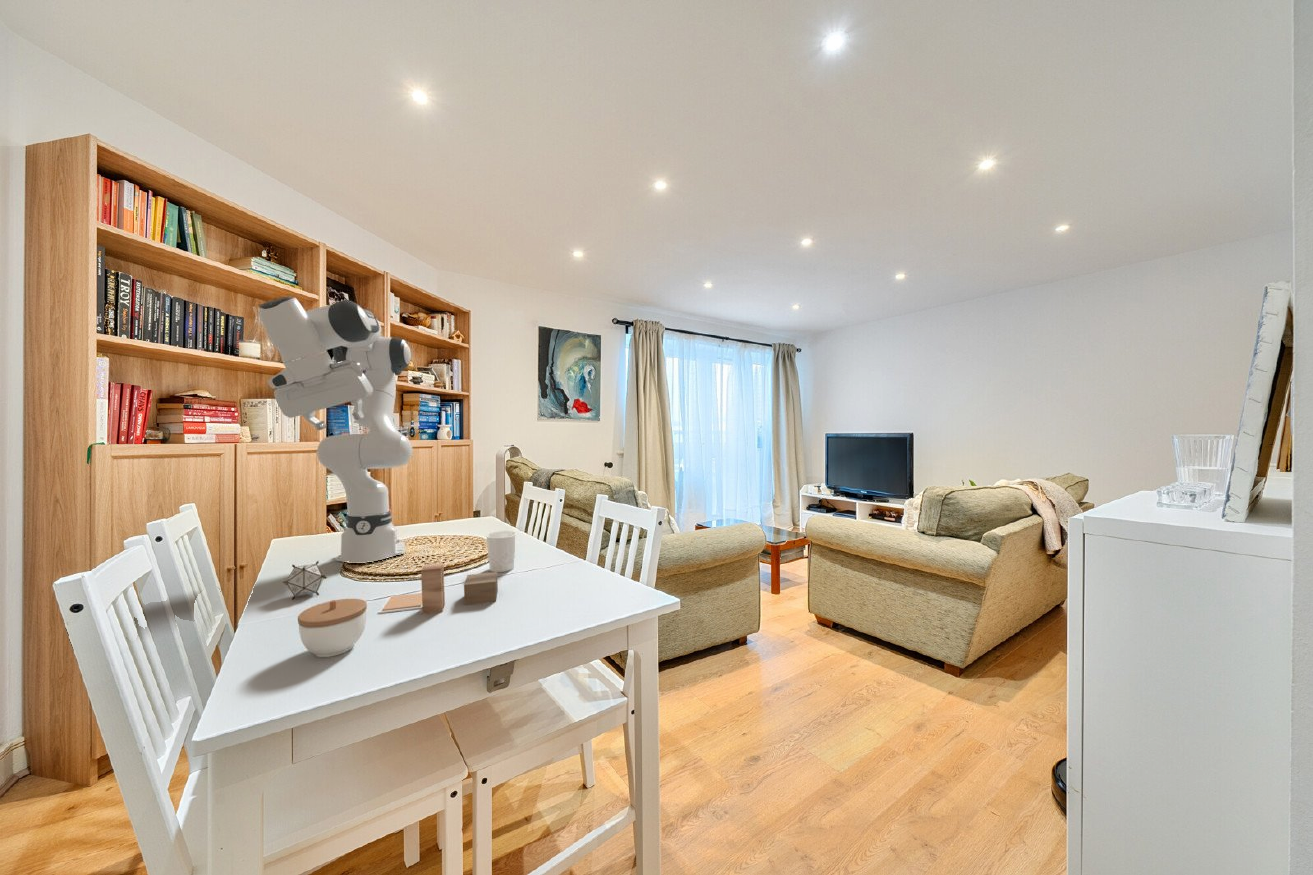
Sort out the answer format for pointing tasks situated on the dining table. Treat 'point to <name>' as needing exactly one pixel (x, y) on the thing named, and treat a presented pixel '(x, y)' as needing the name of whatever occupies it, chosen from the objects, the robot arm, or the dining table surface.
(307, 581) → the grey icosahedron model
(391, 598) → the swatch tile
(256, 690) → the dining table surface
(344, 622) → the lidded jar
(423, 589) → the cherry post
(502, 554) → the white cup
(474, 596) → the walnut block
